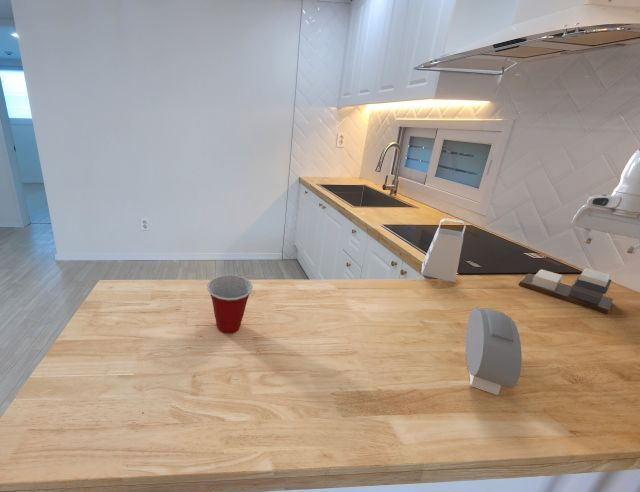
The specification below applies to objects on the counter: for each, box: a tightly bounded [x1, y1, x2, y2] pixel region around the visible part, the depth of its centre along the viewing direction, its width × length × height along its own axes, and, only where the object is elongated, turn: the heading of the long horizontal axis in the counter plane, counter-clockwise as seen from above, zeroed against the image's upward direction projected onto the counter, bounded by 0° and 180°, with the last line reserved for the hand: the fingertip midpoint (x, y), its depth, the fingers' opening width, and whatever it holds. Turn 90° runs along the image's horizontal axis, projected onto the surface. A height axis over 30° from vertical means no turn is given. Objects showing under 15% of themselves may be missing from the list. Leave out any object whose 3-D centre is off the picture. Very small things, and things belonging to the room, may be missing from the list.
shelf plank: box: [518, 273, 614, 314], centre depth 112 cm, size 22×12×2 cm, turn 40°
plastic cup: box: [206, 274, 254, 334], centre depth 81 cm, size 11×11×12 cm
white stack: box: [532, 268, 564, 291], centre depth 115 cm, size 6×10×3 cm, turn 130°
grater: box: [421, 217, 467, 283], centre depth 118 cm, size 10×10×20 cm
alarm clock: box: [464, 306, 523, 396], centre depth 73 cm, size 23×6×13 cm, turn 151°
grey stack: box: [568, 272, 612, 305], centre depth 107 cm, size 7×10×6 cm
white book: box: [579, 267, 611, 287], centre depth 106 cm, size 6×10×2 cm, turn 130°
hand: (607, 247), depth 102 cm, fingers open, 8 cm apart
